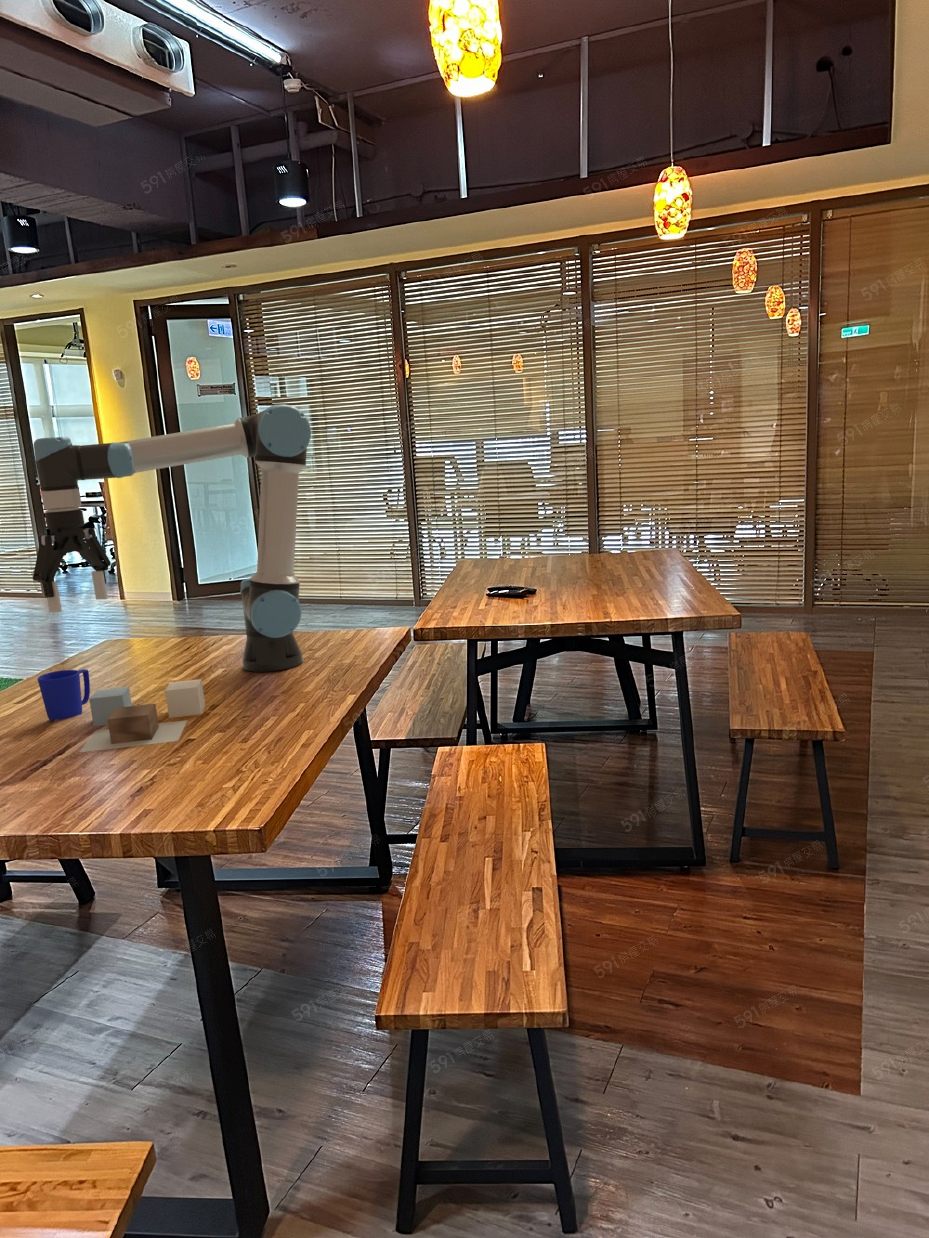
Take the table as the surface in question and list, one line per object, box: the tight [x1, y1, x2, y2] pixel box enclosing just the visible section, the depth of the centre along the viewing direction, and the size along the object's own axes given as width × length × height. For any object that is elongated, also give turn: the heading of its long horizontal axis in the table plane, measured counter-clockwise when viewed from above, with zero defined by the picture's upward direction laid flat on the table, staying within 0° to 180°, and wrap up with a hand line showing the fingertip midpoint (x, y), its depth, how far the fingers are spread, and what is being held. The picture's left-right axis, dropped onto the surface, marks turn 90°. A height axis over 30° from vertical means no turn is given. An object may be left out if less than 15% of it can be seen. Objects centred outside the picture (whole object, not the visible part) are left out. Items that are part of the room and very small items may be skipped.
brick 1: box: [88, 686, 133, 727], centre depth 179 cm, size 6×6×7 cm
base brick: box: [107, 703, 159, 744], centre depth 167 cm, size 8×8×5 cm
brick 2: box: [164, 678, 206, 719], centre depth 181 cm, size 6×6×7 cm
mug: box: [37, 669, 91, 723], centre depth 187 cm, size 8×12×10 cm
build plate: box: [78, 719, 189, 753], centre depth 168 cm, size 18×13×1 cm
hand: (79, 605), depth 190 cm, fingers open, 13 cm apart
